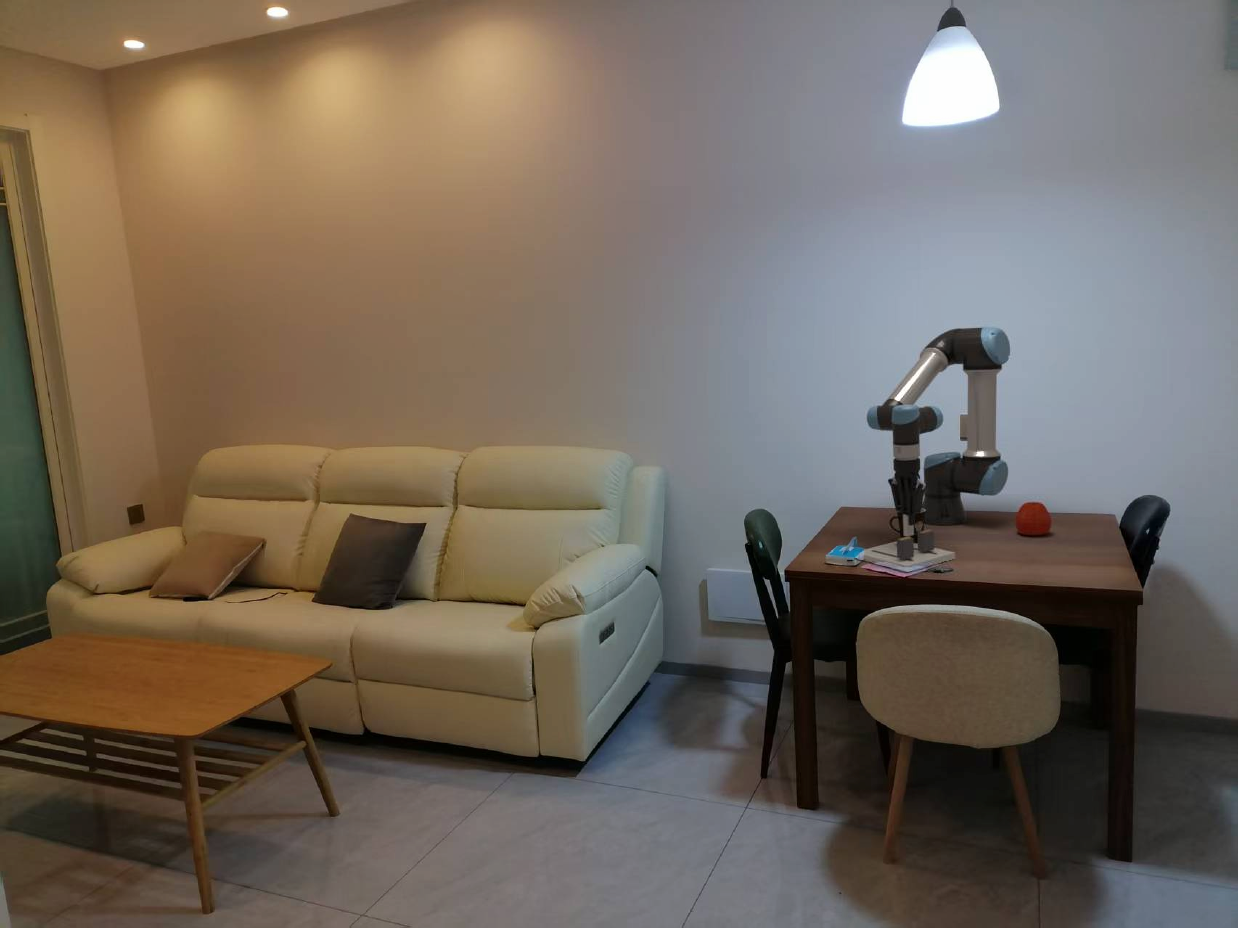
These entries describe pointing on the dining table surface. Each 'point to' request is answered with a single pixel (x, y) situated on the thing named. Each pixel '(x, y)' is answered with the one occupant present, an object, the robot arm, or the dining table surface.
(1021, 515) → the apple
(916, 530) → the coffee mug
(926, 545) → the block
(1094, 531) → the dining table surface
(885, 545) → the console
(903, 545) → the block
